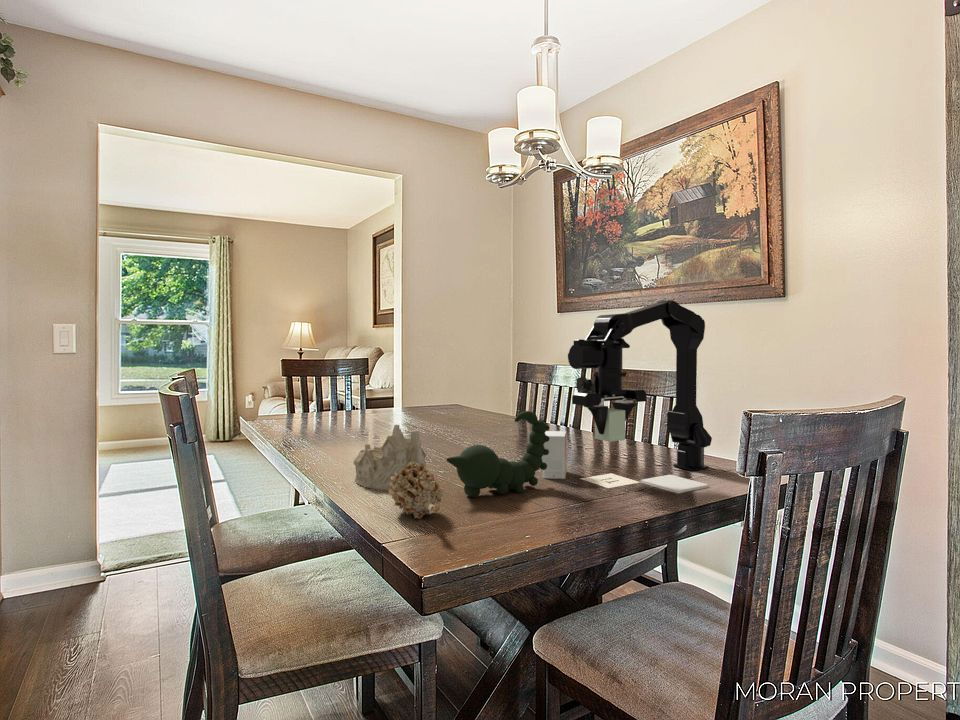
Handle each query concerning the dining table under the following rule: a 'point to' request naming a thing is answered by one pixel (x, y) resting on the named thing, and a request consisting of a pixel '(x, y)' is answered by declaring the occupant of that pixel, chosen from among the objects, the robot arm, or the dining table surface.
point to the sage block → (613, 426)
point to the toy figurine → (503, 463)
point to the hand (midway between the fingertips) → (609, 433)
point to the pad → (674, 483)
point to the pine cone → (416, 490)
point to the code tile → (609, 480)
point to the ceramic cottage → (388, 459)
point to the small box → (555, 455)
